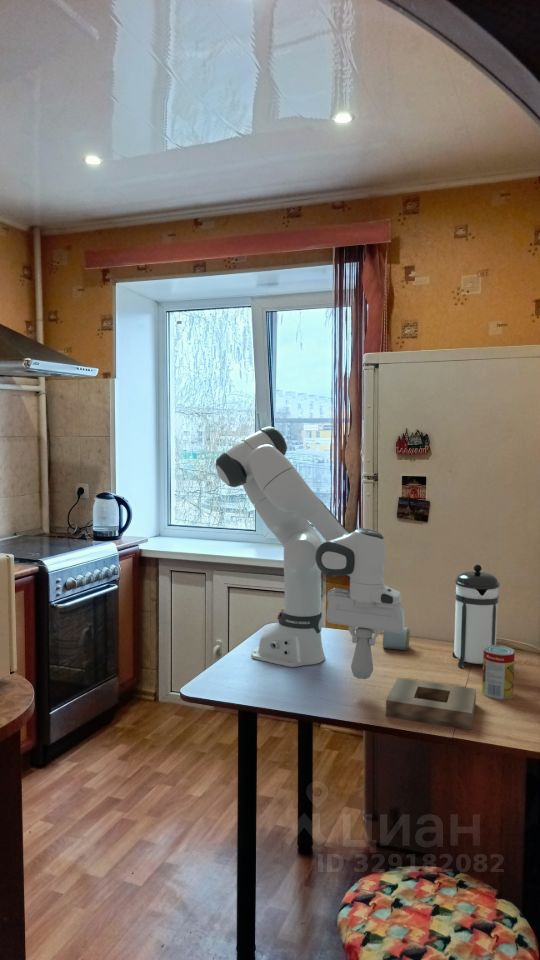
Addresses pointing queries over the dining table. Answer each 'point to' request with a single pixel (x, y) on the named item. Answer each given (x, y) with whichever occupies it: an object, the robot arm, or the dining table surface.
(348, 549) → the robot arm
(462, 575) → the coffee press
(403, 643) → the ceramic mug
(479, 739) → the dining table surface
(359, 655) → the salt shaker
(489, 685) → the canned food
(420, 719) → the walnut holder
